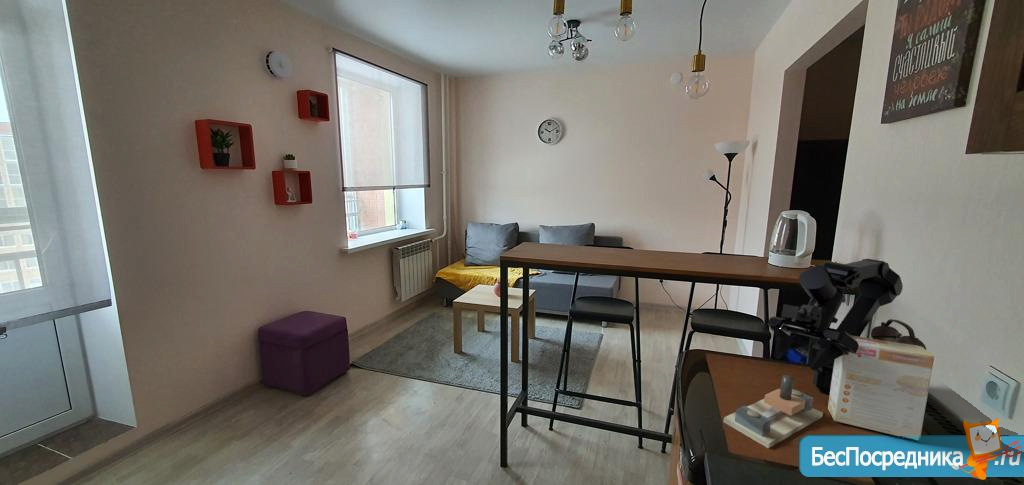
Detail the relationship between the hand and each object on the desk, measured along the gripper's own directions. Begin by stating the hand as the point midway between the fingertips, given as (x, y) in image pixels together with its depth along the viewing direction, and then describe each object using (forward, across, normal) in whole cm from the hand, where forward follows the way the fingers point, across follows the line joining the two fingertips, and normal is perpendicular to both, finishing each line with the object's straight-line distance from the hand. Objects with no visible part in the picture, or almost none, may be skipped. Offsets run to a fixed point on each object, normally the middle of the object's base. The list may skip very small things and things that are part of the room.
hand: (793, 363), depth 94 cm
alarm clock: (-10, -3, +35) cm, 36 cm away
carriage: (+10, 0, +3) cm, 10 cm away
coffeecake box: (+3, +7, +19) cm, 21 cm away
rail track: (+14, 0, +2) cm, 14 cm away
